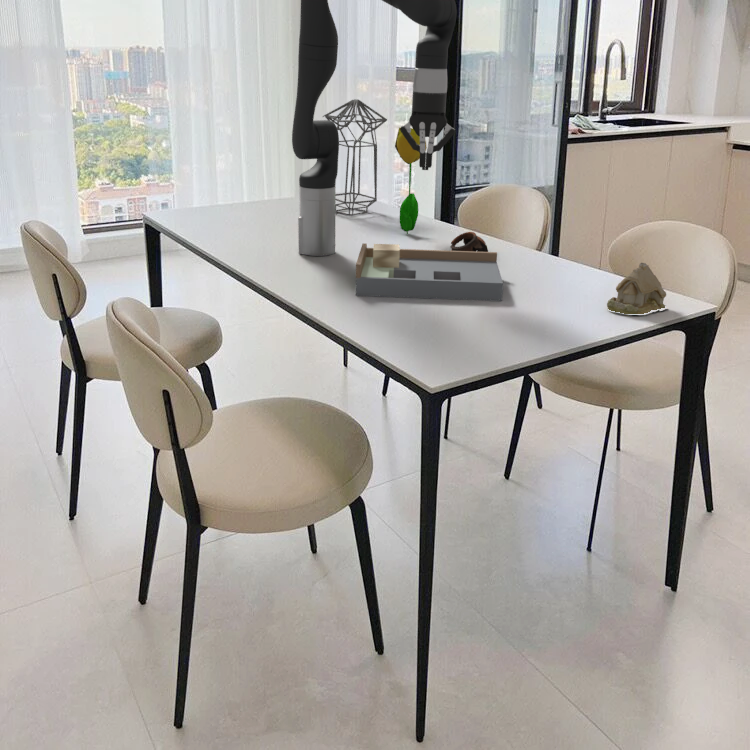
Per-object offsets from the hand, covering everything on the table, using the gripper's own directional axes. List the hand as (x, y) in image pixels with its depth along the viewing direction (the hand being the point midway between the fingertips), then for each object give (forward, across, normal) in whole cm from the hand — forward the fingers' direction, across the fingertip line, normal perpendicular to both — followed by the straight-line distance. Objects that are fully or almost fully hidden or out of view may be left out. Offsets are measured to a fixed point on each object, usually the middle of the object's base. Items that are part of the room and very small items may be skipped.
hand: (425, 169), depth 193 cm
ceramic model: (+24, +47, -21) cm, 57 cm away
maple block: (+21, -8, -7) cm, 23 cm away
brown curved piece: (+25, +13, +17) cm, 33 cm away
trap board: (+25, +2, -10) cm, 27 cm away
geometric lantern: (+27, -22, +73) cm, 81 cm away
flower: (+26, -4, +44) cm, 52 cm away
